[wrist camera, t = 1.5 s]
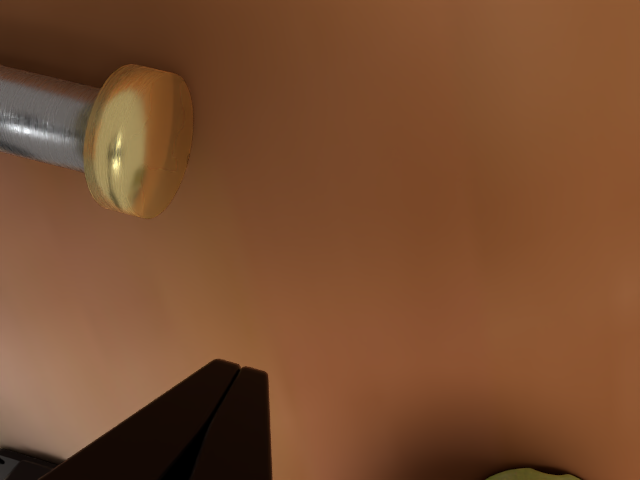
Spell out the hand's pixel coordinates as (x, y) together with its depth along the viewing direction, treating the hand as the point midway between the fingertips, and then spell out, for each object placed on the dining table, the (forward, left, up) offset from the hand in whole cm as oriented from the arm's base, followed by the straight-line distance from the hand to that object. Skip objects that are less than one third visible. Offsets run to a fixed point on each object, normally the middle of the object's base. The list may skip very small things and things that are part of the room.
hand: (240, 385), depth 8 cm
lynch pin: (0, +12, -10) cm, 16 cm away
